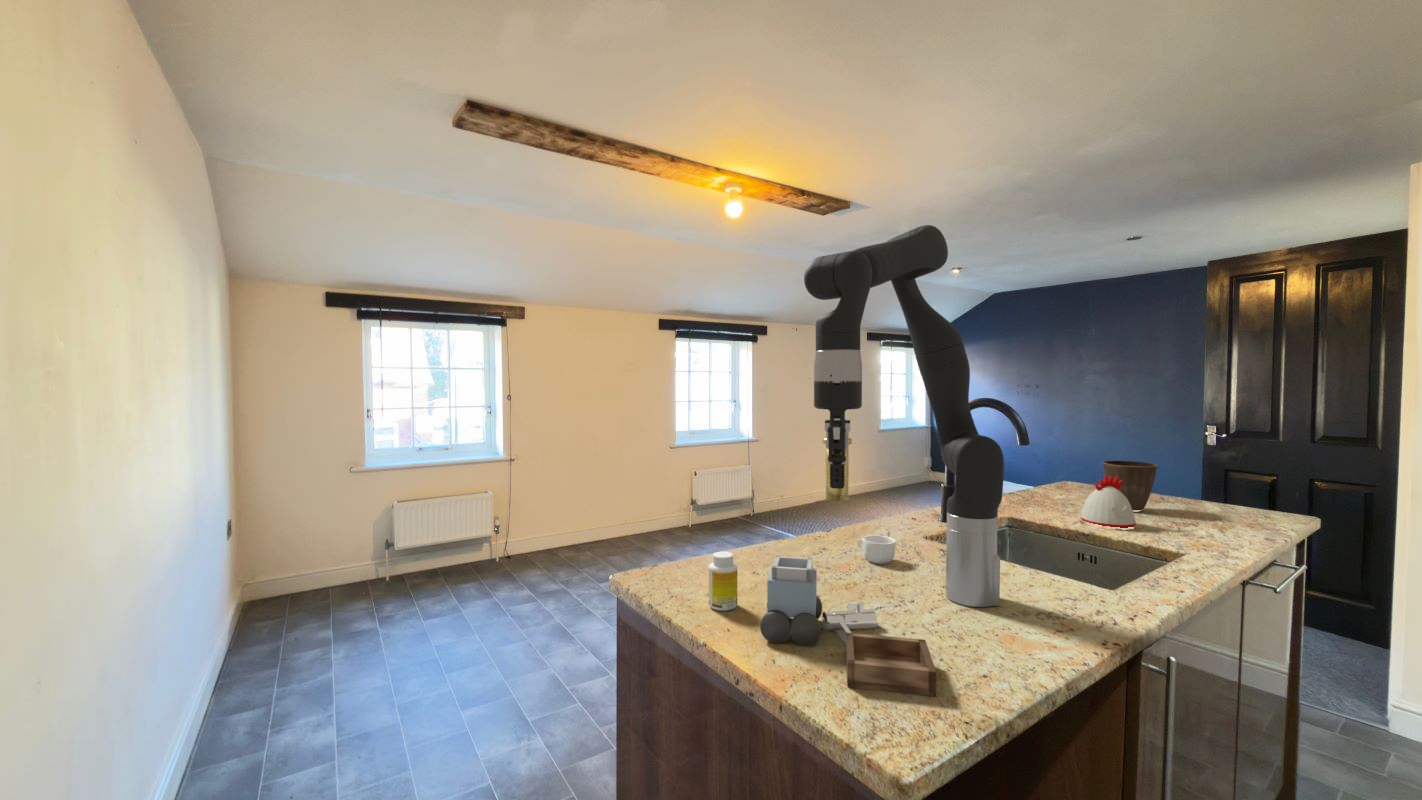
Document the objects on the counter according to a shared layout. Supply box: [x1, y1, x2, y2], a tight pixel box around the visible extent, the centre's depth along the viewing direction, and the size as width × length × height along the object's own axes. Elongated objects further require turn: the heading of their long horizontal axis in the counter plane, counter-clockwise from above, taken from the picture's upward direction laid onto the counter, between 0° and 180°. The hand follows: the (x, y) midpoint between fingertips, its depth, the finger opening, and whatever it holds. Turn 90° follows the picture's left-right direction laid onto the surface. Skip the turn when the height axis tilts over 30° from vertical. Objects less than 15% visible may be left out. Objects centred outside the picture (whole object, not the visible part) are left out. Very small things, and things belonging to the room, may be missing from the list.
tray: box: [845, 632, 937, 697], centre depth 85 cm, size 12×10×4 cm
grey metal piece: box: [821, 602, 878, 645], centre depth 98 cm, size 10×4×9 cm
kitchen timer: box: [1079, 475, 1137, 528], centre depth 174 cm, size 14×14×15 cm
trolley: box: [759, 555, 823, 647], centre depth 100 cm, size 10×11×12 cm
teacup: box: [857, 534, 897, 565], centre depth 139 cm, size 10×8×5 cm
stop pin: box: [822, 436, 853, 502], centre depth 92 cm, size 5×5×10 cm
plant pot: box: [1102, 460, 1158, 510], centre depth 193 cm, size 15×15×16 cm
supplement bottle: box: [708, 551, 738, 612], centre depth 110 cm, size 6×6×10 cm
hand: (837, 485), depth 92 cm, fingers closed on stop pin, 3 cm apart
